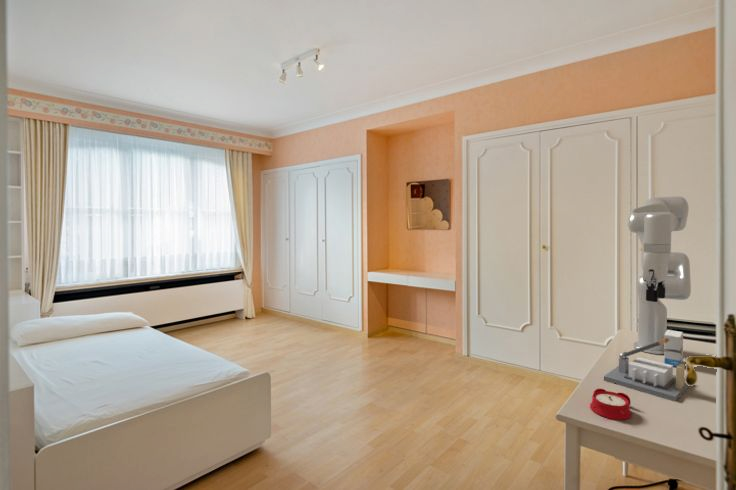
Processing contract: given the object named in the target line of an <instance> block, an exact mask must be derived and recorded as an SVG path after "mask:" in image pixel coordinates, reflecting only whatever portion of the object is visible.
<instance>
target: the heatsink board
mask: <svg viewBox="0 0 736 490" xmlns="http://www.w3.org/2000/svg"><path fill="white" fill-rule="evenodd" d="M629 361H630V359H629V357H628V356H627V357H625V358H624V359H621V358H620V357H619V358H618V366H617V367H615V368H614V369H612V370H611V371H609V372H608V373H606V374H605V375H603V381H605V382H609V383H611V382H612V384H615V383H616V384H615V385H619V386H621V385H622V386H623V387H626V388H628V389H632V390H635V391H639V392H642V393H645V394H649V395H652V396H656V397H659V398H662V399H666V400H670V401H672V402H676V401H678V399H679V398H680V397H681V396H682V395H683V394H682V393H684V392H686V390H687V389H688V388H689V387H690V386H688V385H687V384H686V383H685V378H686V377H685V366H686V364H683V363H682V364H679V365H678V366H677V367H675V368H676V370H675V375H674V366H673V365H669V364H665V363H664V362H660V361H656V360H651V359H647V358H644V357H636V358H635V359H633V360H631V362H629ZM687 387H688V388H687ZM686 388H687V389H686ZM685 389H686V390H685ZM681 394H682V395H681Z"/></svg>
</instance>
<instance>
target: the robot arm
mask: <svg viewBox="0 0 736 490" xmlns="http://www.w3.org/2000/svg"><path fill="white" fill-rule="evenodd" d="M688 214H689V203H688V201H687V199H686V198H684V197H683V196H661V197H660V196H659V197H657V196H656V197H652V198H648V199H647V200H646V201H645V202H644V204H643V205H642V206H639V207H636V208H633V209H632V210H630V212H629V214H628V220H627V227H628V230H629V231H630V232H632V233H634V234H637V236H638V238H639V240H640V241H639V242H640V244H641V264H640V265H641V269H642V275H641V276H639V277H638V278H637V280H636V289H637V296H638V298H637V300H638V317H637V318H638V320H637V321H638V324H637V326H638V327H637V330H638V331H637V341H635V342H634V343H633V348H635V349H637V348H640V347H643V346H646V345H648V344H651V343H654V342H657V341H660V340H662V339H665V333H666V331H667V330H668V329H667V327H668V325H667V324H668V323H667V321H668V309H667V307H666V305H665V304H664V303H663V301H661V299H665V300H677V301H680V300H681V301H685V300H687V299H689V298H690V296H691V293H692V283H691V264H690V259H689V257H688V255H687V254H685V253H683V252H673V251H672V232H679V231H683V230H684V229H685V227H686V226H687V221H688ZM671 251H672V252H671ZM642 352H644V353H647V354H654V355H665V344H662V345H659V346H656V347H653V348H650V349H647V350H644V351H642Z"/></svg>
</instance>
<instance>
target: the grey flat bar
mask: <svg viewBox="0 0 736 490" xmlns="http://www.w3.org/2000/svg"><path fill="white" fill-rule="evenodd" d="M669 341H670V340H669V339H668V338H665V339H662V340H660V341H657V342H654V343H651V344H648V345H646V346H643V347H640V348H637V349H636V348H635V349H632V350H629V351H623V352H622V353H621V354H619V358H621V359H624V358H625V357H627V358H628V357H630V356H633V355H634V354H637V353H641V352H643V351H644V350H647V349H650V348H653V347H656V346H659V345H662V344H665V343H667V342H669Z"/></svg>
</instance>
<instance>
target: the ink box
mask: <svg viewBox="0 0 736 490" xmlns="http://www.w3.org/2000/svg"><path fill="white" fill-rule="evenodd" d="M665 338H668V339H669V340H670V341H669V342H667V343H665V354H664V356H663V357H664V358H663V359H664V362H663V363H665V364H669V365H673V368H676V367H677V366H678V365H679V364H683V362H684V332H683V331H677V330H672V329H667V330H666V333H665Z"/></svg>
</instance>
